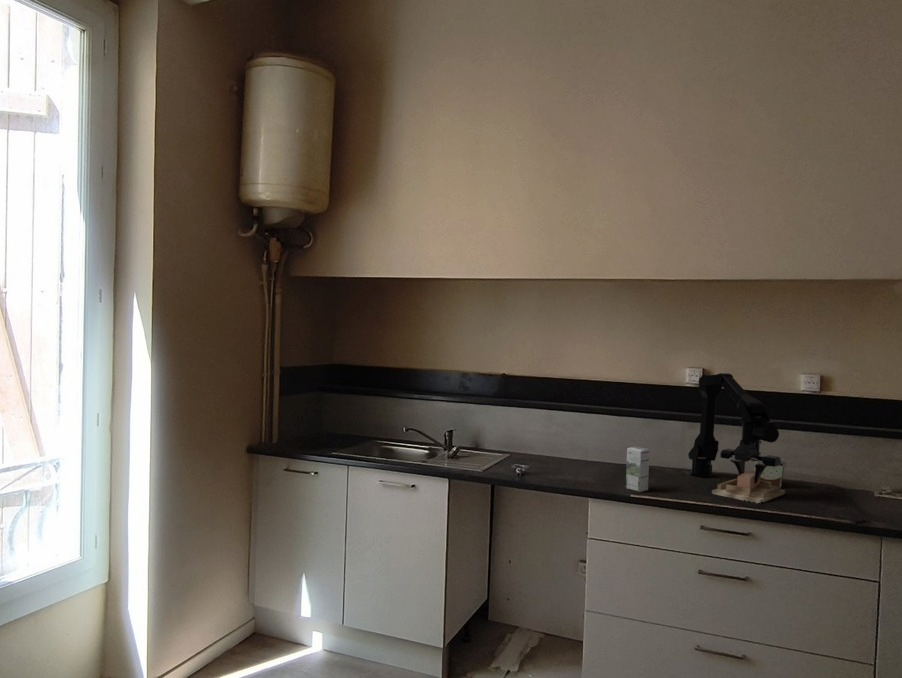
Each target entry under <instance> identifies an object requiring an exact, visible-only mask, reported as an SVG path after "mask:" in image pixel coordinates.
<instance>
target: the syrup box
mask: <svg viewBox="0 0 902 678" xmlns="http://www.w3.org/2000/svg"><path fill="white" fill-rule="evenodd" d="M626 449H627V450H626V469H625V470H626V476H625V489H626V490H630V491H633V492H638V493H640V492H645V491H649V472H650V471H649V470H650V469H649V468H650V467H649V466H650V449H649V448H644V447H639V446H631V447H628V448H626Z"/></svg>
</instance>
